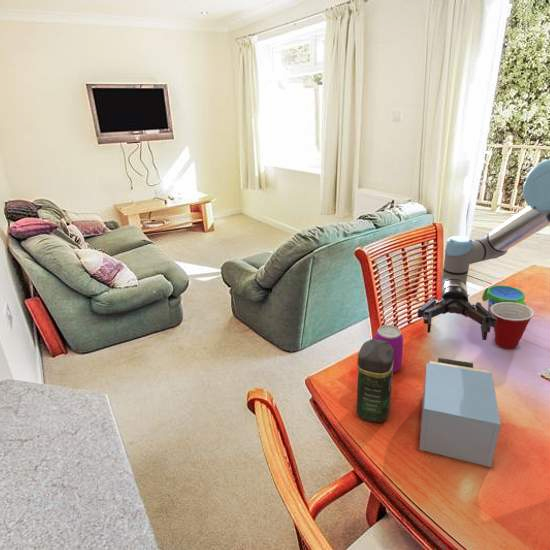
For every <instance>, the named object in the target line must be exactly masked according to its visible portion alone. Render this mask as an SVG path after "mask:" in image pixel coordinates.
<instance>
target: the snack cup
mask: <svg viewBox="0 0 550 550" xmlns="http://www.w3.org/2000/svg"><path fill="white" fill-rule="evenodd" d="M481 297H482V298H481V301H483V302H487V311H488V312H490V313H491V314H492V312H491V310H490V309H491V306H492V305H494V304H496V303H501V302H513V303H519V304H523V305H526V302H525V298H526V294H525V292H524V291H522V290H521V289H519V288H517V287H513V286H509V285H502V284H501V285H492V286H490V287H489V286H488V287H487V288H485V290H484V291H483V294H482V296H481ZM526 306H527V305H526ZM492 315H493V314H492Z"/></svg>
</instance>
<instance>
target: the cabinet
mask: <svg viewBox="0 0 550 550" xmlns="http://www.w3.org/2000/svg"><path fill="white" fill-rule="evenodd" d="M423 383H424V385H423V393H422V404H421V416H420V417H421V419H420V435H419V451H423V452H427V453H431V454H434V455H435V454H436V455H441V456H443V457H448V458H453V459H455V460H456V459H457V460H459V461H465V462H469V463H473V464H476V465H479V466H485V467H488V468H492V465H493V460H494V456H495V452H496V447H497V442H498V438H499V434H500V430H501V426H502V423H501V417H500V411H499V406H498V401H497V396H496V391H495V390H496V389H495V383H494V378H493V374H492V373H491V372H487V373H486V372H480V371H474V370H468V369H462V368H456V367H450V366H444V365H438V364H431V363H429V362H426V365H425V375H424V382H423Z"/></svg>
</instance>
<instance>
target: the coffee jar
mask: <svg viewBox="0 0 550 550" xmlns="http://www.w3.org/2000/svg"><path fill="white" fill-rule="evenodd" d="M393 356H394V350H393V347H392V346H391V345H390V344H389V343H388V342H386V341H381V340H376V339H375V338H371V339H369V340H366V341H364V343H363V344H362V345H361V347H360V349H359V351H358V354H357V382H356V384H357V385H356V386H357V387H356V406H355V407H356V409H355V411H356V415H357V416H359V417H360V418H361V419H363V420H365V421H368V422H371V423H381V422H385V421H386V420H387V418H388V416H389V413H390V410H391V399H392V398H391V397H392V386H393V373H394V372H393V360H394V359H393Z"/></svg>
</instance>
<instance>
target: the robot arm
mask: <svg viewBox="0 0 550 550" xmlns="http://www.w3.org/2000/svg"><path fill="white" fill-rule="evenodd" d="M522 194H523V199H524V201H525V203H526V205H527V206H526V207H525V208H524V209H522V210H520V211H519V212H517V213H516V214H514V215H513V216H512V217H510V218H509V219H507V220H506V221H505V222H503V223H502V224H500V225H498V226H497V227H496V228H494V229H493V230H491V231H489V233H487V234H486V235H484V236H482V237H479V238H476V239H472V238H470V237H467V236H464V235H463V236H462V235H457V236H456V235H455V236H451V237H449V238H448V239H447V241H446V244H445V249H444V261H443V269H442V274H441V276H440V284H441V291H440V292H441V293H440V296H441V298H440V300H438V299H436V297H431V298H430V300H428V301H427V302H426V303H424V304H423V305H422V306H421V307H419V308H418V309H417V318H419V319H421V318H423V324H425V325H427V328H426V329H427V330H426V333H428V334H431V329H432V318H435V317H438V316H439V315H445V314H447V313H449V314H457V315H462V316H463V317H464V318H470V319H471V320H472V321H474V322H475V323H477V324H478V325H480V331H481V337H482V341H484V342H485V341H487V338H488V333H490V332H491V329H492V328H494V327H495V326H496V321H497V318H496V317H495V316H493V315H492V314H491V313H490V312H488V309H486V308H485V307H484V306H483V305H482V303H481V302H478V301H477V302H476V303H475V304H472V303H471V302H470V301H469V294H468V287H467V281H468V276H469V275H468V274H469V268H470V265H473V264H477V263H480V262H485V261H489V260H494V259H498V258H500V257H503V256H505V255H506V254H507V253H508V250H509V249H511V248H513V247H515V246H517V245H518V244H520V243H521V242H523V241H525V240H527V239H529V237H531V236H533V235H535V234H537V233H538V232H540V231H542V230H543V229H545V228H547V227H548V226H550V158H548V159H545V160H543V161H540V162H539V163H537V164H535V166H534V167H532V168H531V169H530V171H529V172H528V173H527V174H526V177H525V181H524V182H523V186H522Z"/></svg>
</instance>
